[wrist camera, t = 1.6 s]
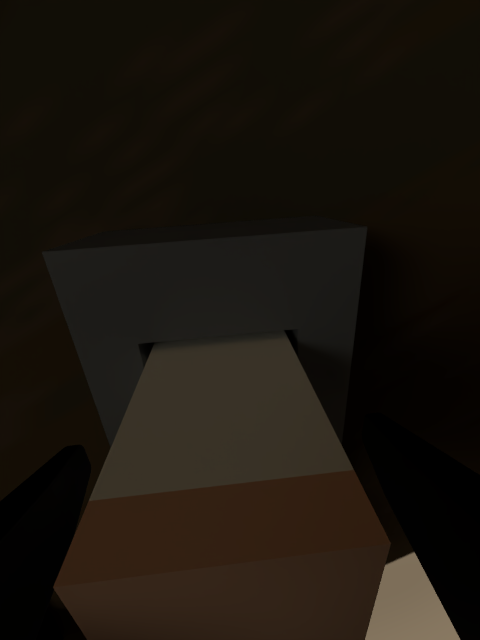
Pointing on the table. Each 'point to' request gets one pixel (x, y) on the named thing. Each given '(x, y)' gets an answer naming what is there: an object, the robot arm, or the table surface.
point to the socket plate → (211, 298)
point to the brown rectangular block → (225, 507)
